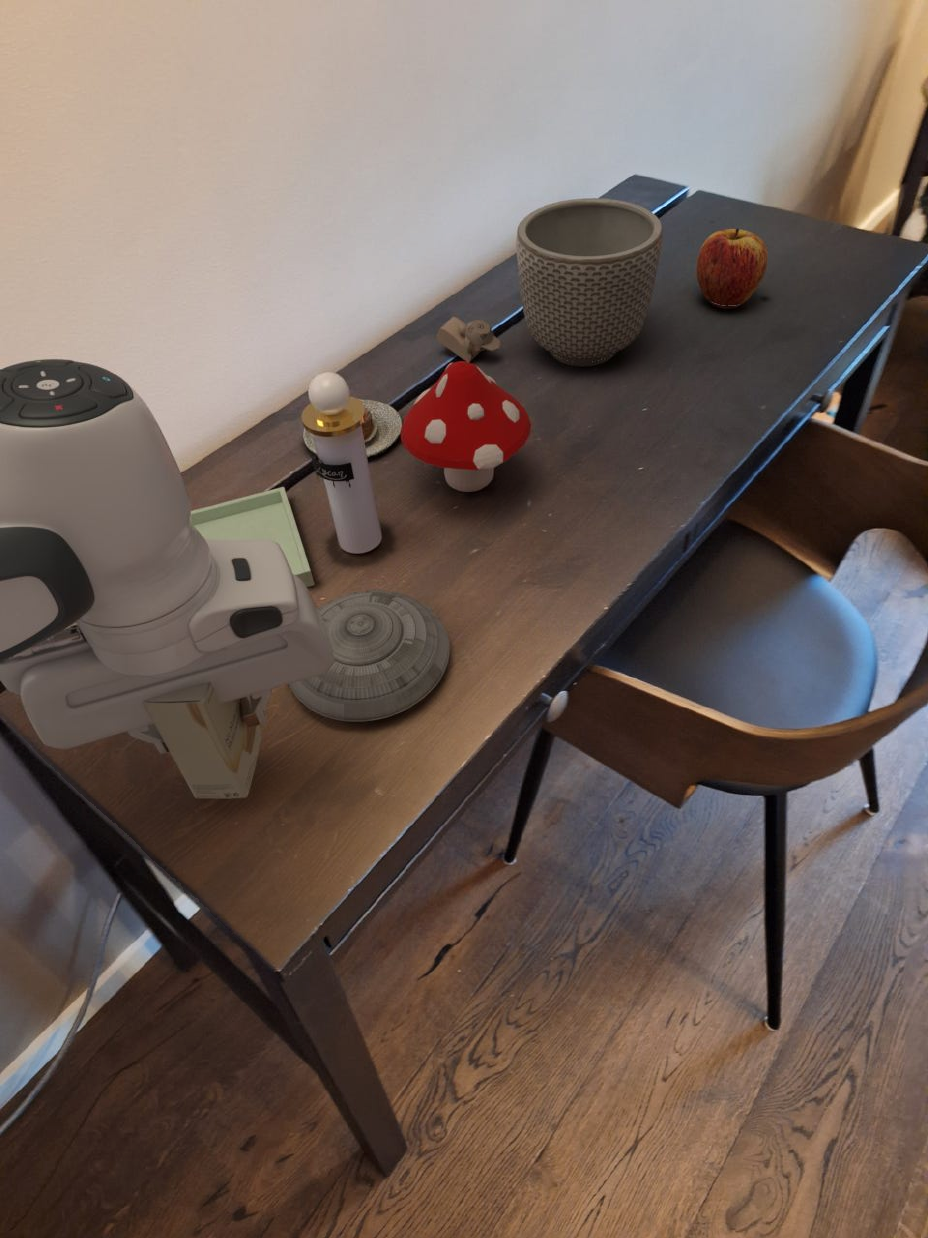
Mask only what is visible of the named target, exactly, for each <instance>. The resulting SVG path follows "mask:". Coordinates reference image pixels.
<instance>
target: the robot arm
mask: <svg viewBox="0 0 928 1238" xmlns="http://www.w3.org/2000/svg"><path fill="white" fill-rule="evenodd" d="M191 511H192V504H191V498H190V494H189V491H188V488H187V485H186V483H185V481H184V477H183V476H182V473H181V471H180V468H179V466H178V464H177V461H176V458H175V456H174V454H173V452H172V450H171V448H170V445H169V443H168V440H167V439H166V437H165V435H164V433H163V431H162V429H161V427H160V425H159V423H158V421H157V420H156V418H155V416H154V414H153V413H152V410H150V408H149V406H148V404H147V403H146V402H145V401H144V399H143V398H142V397H141V396H140V394H139V393H138V392H137V391H136V390H135V389H134V388H133V387H132V386H131V385H130V384H129V383H128V382H127V381H125V380H124V379H123V378H122V377H121V376H119V375H117V374H115V373H114V372H112V371H110V370H108V369H106V368H103V367H102V366H98V365H95V364H91V363H87V362H82V361H75V360H73V359H63V358H45V359H34V360H28V361H23V362H19V363H18V362H17V363H15V364H11V365H9V366H6V367H3V368H1V369H0V682H1V683H2V685H3V686H4V688H5V689H6V690H7V691H9V692H10V693H11V694H14V695H17V696H20V700H21V704H22V706H23V709H24V711H25V713H26V716H27V718H28V720H29V722H30V725H31V726H32V729H33V731H35V733H36V735H37V737H38V738H39V740H40V741H41V743H42V744H43V745H45V746H46V747H50V748H53V749H57V750H64V751H65V750H69V749H73V748H75V747H80V746H82V745H86V744H89V743H93V742H97V741H100V740H104V739H106V738H110V737H114V736H116V735H120V734H124V733H128V735H129V737H132V738H134V739H137V740H141V741H143V742H146V743H148V744H152V745H154V746H155V748H156V750H157V751H158V753H159V755H164V754H166V753H169V752H170V751H169V749H168V747H167V745H166V744H165V742H164V740H163V738H162V736H161V735H160V733H159V731H158V729H157V727H156V725H155V723H154V722H153V720H152V718H151V716H150V714H149V712H148V711H147V709H146V707H145V705H144V703H143V701H146V700H148V699H151V698H154V697H157V696H161V695H164V694H168V693H171V692H175V691H178V690H182V689H185V688H189V687H193V686H197V685H202V684H207V683H212V686H213V688H214V690H215V692H216V695H217V697H218V699H219V701H220V702H221V704H223V703H226V702H229V701H233V700H236V699H240V698H241V699H240V704H241V707H242V714H243V718H244V720H245V722H246V725H247V727H248V728H249V727H253V726H256V725H258V726H261V725H263V724H267V722H268V720H267V716H266V712H265V709H266V707H267V705H268V703H269V701H270V699H271V697H272V695H273V694H272V690H273V689H277V688H280V687H284V686H287V685H289V684H291V683H294V682H298V681H301V680H304V679H308V678H311V677H315V676H319V675H322V674H325V673H326V672H327V671H328V670H329V669H330V668H331V666H332V665H333V663H334V662H335V657H334V654H333V650H332V647H331V643H330V640H329V637H328V634H327V631H326V628H325V625H324V622H323V620H322V617H321V614H320V612H319V609H318V608H319V607H318V605H317V603H316V601H315V599H314V597H313V595H312V593H311V592H310V589H309V587H307V586H306V585H305V584H304V582H303V581H302V580H301V579H300V578H298V577H297V576H295V575H294V574H292V571H291V568H290V566H289V563H288V561H287V558H286V556H285V554H284V552H283V550H282V549H281V547H280V545H279V544H278V543H277V542H275V541H270V540H214V539H204V537H203V536H202V535H201V533H200V532H199V531H198V530H197V529H196V528H195V527H194V525H193V523H192V520H191ZM75 623H76V624H75ZM246 696H247V697H246ZM243 697H244V698H243Z"/></svg>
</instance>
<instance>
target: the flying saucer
mask: <svg viewBox="0 0 928 1238" xmlns="http://www.w3.org/2000/svg"><path fill="white" fill-rule="evenodd" d="M318 609H319V612H320V614H321V617H322V620H323V622H324V625H325V628H326V631H327V634H328V637H329V640H330V643H331V647H332V650H333V654H334V657H335V662H334V663H333V665H332V666H331V668H330V669H329V670H328V671H327V672H326V673H325V674H322V675H319V676H315V677H311V678H308V679H304V680H301V681H298V682H294V683H291V684H288V687H289V689H290V691H291V692H292V694H293V695H294V697H296V699H297V700H298V701H299V702H300V703H301V704H302V705H304V706H305V707H306V708H308V709H309V710H311V711H313V712H314V713H316V714H318V715H321V716H323V717H326V718H329V719H332V720H337V721H343V722H356V723H359V722H360V723H361V722H368V721H369V722H371V721H377V720H382V719H385V718H389V717H392V716H395V715H398V714H400V713H402V712H404V711H406V710H408V709H410V708H412V707H413V706H415V705H416V704H418V703H420V702H421V701H422V700H423V699H425V698H426V697H427V696H428V695H429V694H430V693H431V692H432V691H433V690H434V689H435V687H436V686H438V684H439V682H440V680H441V679H442V678H443V676H444V673H445V672H446V669H447V667H448V663H449V659H450V654H451V653H450V652H451V648H450V647H451V646H450V645H451V644H450V639H449V634H448V631H447V629H446V627H445V625H444V623H443V622H442V620H441V619H440V617H439V616H438V615H437V614H436V613H435V612H434V611H433V610H432V609H431V608H429V607H428V606H427V605H426V604H424V603H423V602H421V601H419V600H418V599H415V598H414V597H411V596H409V595H406V594H404V593H400V592H397V591H391V590H380V589H373V590H369V589H368V590H362V591H361V590H360V591H355V592H350V593H347V594H344V595H340V596H338V597H336V598H334V599H331V600H329V601H328V602H326V603H324V604H322V605H320V607H318Z"/></svg>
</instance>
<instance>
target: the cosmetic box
mask: <svg viewBox="0 0 928 1238" xmlns="http://www.w3.org/2000/svg"><path fill="white" fill-rule="evenodd" d="M246 697H247V696H246ZM243 698H244V697H243ZM240 699H241V698H240ZM240 699H236V700H233V701H229V702H226V703H223V704H221V702H220V701H219V699H218V697H217V695H216V692H215V690H214V688H213V686H212V683H207V684H202V685H197V686H193V687H189V688H185V689H182V690H178V691H175V692H171V693H168V694H164V695H161V696H157V697H154V698H151V699H148V700H146V701H143V703H144V705H145V707H146V709H147V711H148V712H149V714H150V716H151V718H152V720H153V722H154V723H155V725H156V727H157V729H158V731H159V733H160V735H161V736H162V738H163V740H164V742H165V744H166V745H167V747H168V749H169V752H170V754H171V757H172V758H173V760H174V762H175V765H176V766H177V767H178V769H179V772H180V773H181V775H182V778H183V779H184V780H185V782H186V784H187V786H188V788H189V789H190V791H191V794H192V795H193V797H194V798H195V799H245V798H247V797H248V796H249V793H250V790H251V785H252V781H253V779H254V775H255V770H256V766H257V762H258V758H259V757H258V756H259V752H260V747H261V741H262V736H263V735H262V730H261V729H260V728H261V727H260V725H256V726H253V727H249V728H248V727H247V725H246V722H245V720H244V718H243V714H242V707H241V704H240Z"/></svg>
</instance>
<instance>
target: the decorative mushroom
mask: <svg viewBox="0 0 928 1238" xmlns="http://www.w3.org/2000/svg"><path fill="white" fill-rule="evenodd" d="M445 367H446V368H445V369H444V371H443V372H442V373H441V375H440V377H439V378H438V379H437V380H436V382H435V383H434V384H433V386H431V387H430V388H427V389H425V390H424V391H423V392H421V394H420V395H418V397H417V398H416V399H415V401H414V403H413V404H412V407H411V408H410V409H409V410H408V412H407V413H406V415H405V416H404V419H403V421H402V428H401V433H400V439H401V440H400V441H401V442H402V444H403V446H404V448H405V450H406V451H407V452H408V453H410V455H412V456H413V457H414V458H416V459H418V460H419V461H421V462H423V463H425V464H427V465H431V466H434V467H438V468H440V469H441V468H443V474H444V478H445V479H444V480H445V482H446V483H447V485H448V486H450V488H453V489H454V490H456V491H458V492H463V493H473V492H474V493H475V492H477V491H480V490H482V489H484V488H485V487H487V486H488V485H490V483H491V482H492V480H493V479H494V470H495V468H496V467H498V466H499V465H501V464H503V463H506V462H507V461H509V459H511V457H513V456H514V455H515V454H516V453H518V451H519V450H520V449H521V448H522V447H524V446H525V444H526V442H527V441H528V439H529V437H530V435H531V431H532V423H531V419H530V417H529V414H528V412H527V411H526V409H525V407H524V406H523V405H522V403H520V401H518V400H517V399H516V398H515V397H514V396H513V395H511V394H510V393H508V392H507V391H506V390H504V389H503V388H502V387H500V386H499V385H498V384H497V382H496V381H495V380H494V378H493V377H491V376H489V375H487V374H486V373H485V372H484V371H483V370H482V368H480V367H479V366H477V365H476V364H474V363H471V362H467V361H465V360H459V361H456V362H455V361H454V362H450V363H449V364H448V365H447V366H445Z"/></svg>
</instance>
